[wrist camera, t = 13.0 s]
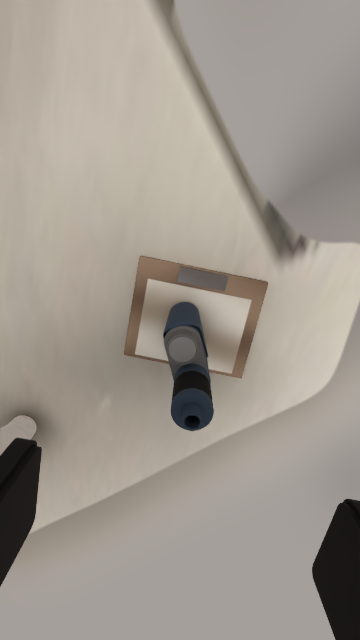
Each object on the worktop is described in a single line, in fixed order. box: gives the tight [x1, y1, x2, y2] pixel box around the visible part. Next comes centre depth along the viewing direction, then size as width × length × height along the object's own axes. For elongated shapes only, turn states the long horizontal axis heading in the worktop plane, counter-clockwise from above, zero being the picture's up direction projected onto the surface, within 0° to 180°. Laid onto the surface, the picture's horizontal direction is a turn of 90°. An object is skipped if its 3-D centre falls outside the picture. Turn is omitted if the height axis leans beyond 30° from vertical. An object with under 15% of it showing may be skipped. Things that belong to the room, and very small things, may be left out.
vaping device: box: [163, 302, 214, 431], centre depth 21 cm, size 3×5×12 cm, turn 14°
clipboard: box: [124, 256, 268, 378], centre depth 27 cm, size 9×11×1 cm
